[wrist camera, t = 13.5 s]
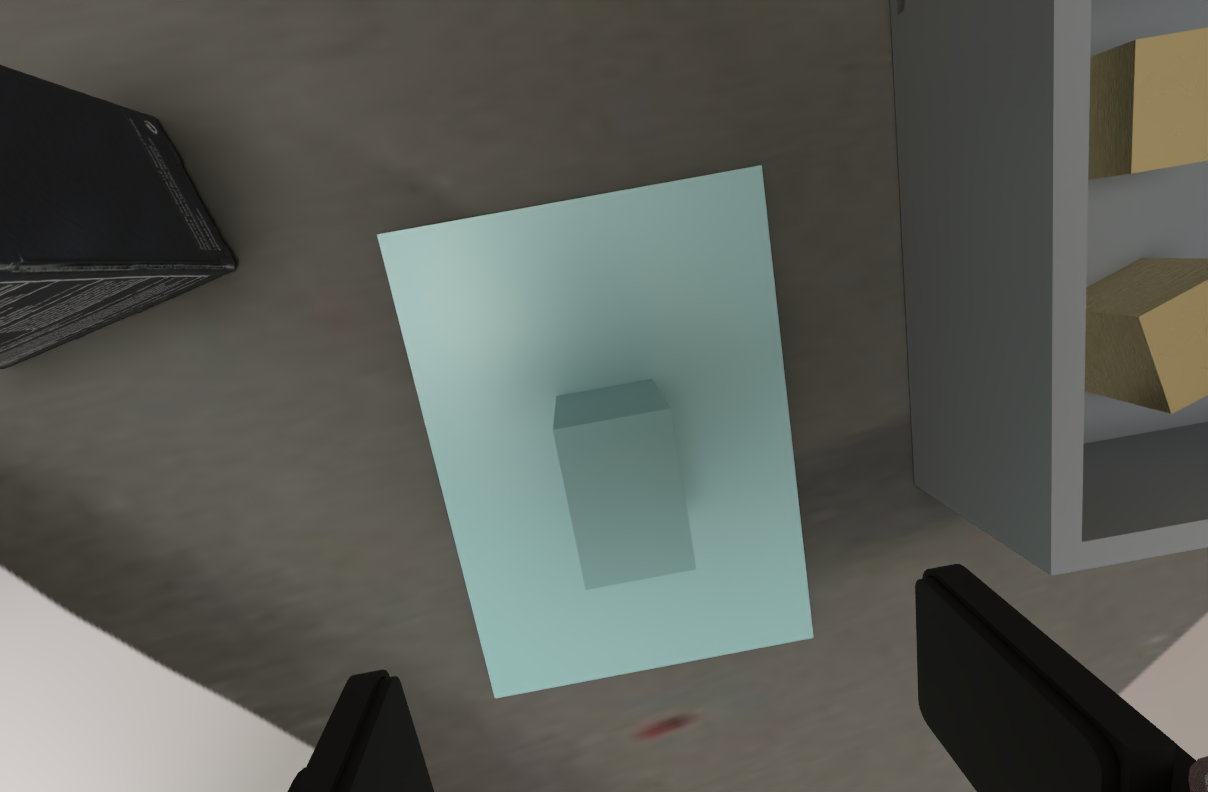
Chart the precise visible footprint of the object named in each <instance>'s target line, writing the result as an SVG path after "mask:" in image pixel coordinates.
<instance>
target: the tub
mask: <svg viewBox="0 0 1208 792" xmlns="http://www.w3.org/2000/svg"><path fill="white" fill-rule="evenodd" d="M890 13H891V33H892V53H893V72H894V92H895V112H896V132H897V151H898V171H899V191H900V210H901V230H902V250H903V270H904V289H905V309H906V329H907V349H908V368H909V388H910V408H911V428H912V447H913V467H914V485H915V486H917V487H918V488H920V489H921V490H923V491H924V492H926V493H927V494H929V495H930V496H932V497H933V498H935V499H936V500H938V501H939V502H941V503H942V504H944V505H945V506H947V507H948V508H950V509H951V510H953V511H954V512H956V513H957V514H959V515H961V516H962V517H964V518H965V519H967V520H968V521H970V522H971V523H973V524H974V525H976V526H977V527H979V528H980V529H982V530H983V531H985V532H986V533H988V534H989V535H991V536H992V537H994V538H995V539H997V540H998V541H1000V542H1001V543H1003V544H1004V545H1006V546H1007V547H1009V548H1010V549H1012V550H1013V551H1015V552H1016V553H1018V554H1019V555H1021V556H1022V557H1024V558H1025V559H1027V560H1028V561H1030V562H1031V563H1033V564H1034V565H1036V566H1037V567H1039V568H1040V569H1042V570H1043V571H1045V572H1046V573H1048V574H1049V575H1051V576H1052V575H1057V574H1063V573H1068V572H1074V571H1079V570H1085V569H1090V568H1096V567H1101V566H1107V565H1112V564H1118V563H1123V562H1129V561H1134V560H1140V559H1145V558H1151V557H1156V556H1162V555H1167V554H1173V553H1178V552H1184V551H1189V550H1195V549H1200V548H1206V547H1208V395H1207V396H1205V397H1203V398H1201V399H1199V400H1198V401H1196V402H1194V403H1192V404H1190V405H1188V406H1186V407H1184V408H1182V409H1180V410H1179V411H1177V412H1175V413H1173V414H1169V413H1166V412H1162V411H1158V410H1154V409H1150V408H1147V407H1143V406H1139V405H1135V404H1131V403H1128V402H1124V401H1120V400H1116V399H1112V398H1108V397H1105V396H1101V395H1097V394H1093V393H1089V392H1086V391H1084V389H1085V333H1086V287H1088V286H1090V285H1092V284H1094V283H1095V282H1097V281H1099V280H1101V279H1103V278H1105V277H1106V276H1108V275H1110V274H1112V273H1114V272H1116V271H1117V270H1119V269H1121V268H1123V267H1125V266H1127V265H1128V264H1130V263H1132V262H1134V261H1136V260H1138V259H1139V258H1208V161H1202V162H1196V163H1191V164H1185V165H1179V166H1173V167H1167V168H1161V169H1156V170H1150V171H1144V172H1138V173H1132V174H1125V175H1119V176H1112V177H1105V178H1098V179H1091V180H1088V165H1089V109H1090V57H1091V56H1094V55H1097V54H1099V53H1102V52H1104V51H1107V50H1110V49H1112V48H1115V47H1118V46H1120V45H1123V44H1125V43H1128V42H1131V41H1133V40H1136V39H1142V38H1148V37H1154V36H1160V35H1166V34H1172V33H1178V32H1184V31H1190V30H1196V29H1202V28H1208V0H890Z"/></svg>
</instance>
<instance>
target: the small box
mask: <svg viewBox="0 0 1208 792" xmlns="http://www.w3.org/2000/svg"><path fill="white" fill-rule="evenodd" d="M234 267H235V263H234V259H233V258H232V257H231V252H230V251H229V250H228V248H227V247H226V245H225V244H224V243H223V242H222V240H221V238H220V237H219V235H218V230H217V228H216V227H214V225H213V224H212V222H211V220H210V218H209V216H208V214H207V212H206V211H205V209H204V206H203V205H202V203H201V201H200V199H199V197H198V196H197V194H196V192H195V190H194V188H193V185H192V183H191V182H190V180H189V178H188V177H187V175H186V173H185V171H184V169H183V167H182V163H181V160H180V158H179V156H178V155H177V153H176V151H175V150H174V149H173V147H172V145H171V143H170V142H169V140H168V139H167V137H166V135H165V134H164V133H163V131H162V129H161V127H160V125H159V124H158V122H157V120H156V119H155V118H154V117H153V116H150V115H147V114H143V113H140V112H137V111H134V110H131V109H128V108H125V107H122V106H119V105H116V104H114V103H111V102H108V101H105V100H102V99H99V98H96V97H92V96H90V95H87V94H84V93H81V92H78V91H75V90H72V89H69V88H66V87H63V86H61V85H58V84H55V83H52V82H49V81H46V80H43V79H40V78H37V77H34V76H32V75H28V74H25V73H22V72H20V71H17V70H13V69H11V68H8V67H5V66H2V65H0V369H4V368H7V367H10V366H11V365H13V364H16V363H18V362H20V361H23V360H26V359H28V358H31V357H33V356H36V355H38V354H41V353H43V352H45V351H47V350H50V349H52V348H55V347H57V346H59V345H61V344H63V343H66V342H68V341H71V340H73V339H78V338H80V337H81V336H83V335H85V334H87V333H90V332H92V331H94V330H97V329H100V328H102V327H104V326H106V325H108V324H111V323H113V322H115V321H118V320H120V319H123V318H125V317H127V316H130V315H132V314H134V313H139V312H141V311H143V310H145V309H147V308H149V307H153V306H154V305H155V304H158V303H160V302H162V301H165V300H167V299H170V298H172V297H175V296H177V295H179V294H181V293H184V292H186V291H188V290H190V289H192V288H195V287H197V286H199V285H202V284H204V283H206V282H208V281H210V280H213V279H215V278H217V277H219V276H222V275H224V274H227V273H230V272H233V271H234Z"/></svg>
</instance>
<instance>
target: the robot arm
mask: <svg viewBox="0 0 1208 792" xmlns="http://www.w3.org/2000/svg"><path fill="white" fill-rule="evenodd" d="M915 595H916V631H917V667H918V700H919V706H920V710H921V713H922V715H923V718H924V720H925V721H926V723H927V725H928V726H929V727H930V729H931V730H932V732H933V733H934V734H935V736H936V737H937V738H938V740H939V741H940V742H941V744H942V745H943V746H944V748H945V749H946V750H947V752H948V753H949V754H950V756H951V757H952V759H953V760H954V761H955V763H956V764H957V765H958V767H959V768H960V769H961V771H962V772H963V773H964V775H965V776H966V777H967V779H968V780H969V782H970V783H971V784H972V786H973V787H974V788H975V790H976V791H977V792H1208V756H1207V757H1203V758H1200V759H1198V760H1197V761H1196V760H1195V759H1194V758H1192V757H1191V756H1190V755H1189V754H1188V753H1186V752H1185V751H1184V750H1183V749H1182V748H1180V747H1179V746H1178V745H1177V744H1176V743H1175V742H1174V741H1173V740H1171V739H1170V738H1169V737H1168V736H1166V735H1165V734H1164V733H1163V732H1162V731H1161V730H1159V729H1158V728H1157V727H1156V726H1155V725H1153V724H1152V723H1151V722H1150V721H1149V720H1147V719H1146V718H1145V717H1144V716H1142V715H1141V714H1140V713H1139V712H1138V711H1137V710H1135V709H1134V708H1133V707H1132V706H1131V705H1129V704H1128V703H1127V702H1126V701H1125V700H1123V699H1122V698H1121V697H1120V696H1119V695H1117V694H1116V693H1115V692H1114V691H1113V690H1111V689H1110V688H1109V687H1108V686H1107V685H1105V684H1104V683H1103V682H1102V681H1101V680H1099V679H1098V678H1097V677H1096V676H1095V675H1093V674H1092V673H1091V672H1090V671H1089V670H1087V669H1086V668H1085V667H1084V666H1083V665H1081V664H1080V663H1079V662H1078V661H1077V660H1075V659H1074V658H1073V657H1072V656H1071V655H1070V654H1068V653H1067V652H1066V651H1065V650H1064V649H1062V648H1061V647H1060V646H1059V645H1058V644H1056V643H1055V642H1054V641H1053V640H1052V639H1050V638H1049V637H1048V636H1047V635H1046V634H1044V633H1043V632H1042V631H1041V630H1040V629H1038V628H1037V627H1036V626H1035V625H1034V624H1032V623H1031V622H1030V621H1029V620H1028V619H1026V618H1025V617H1024V616H1023V615H1022V614H1020V613H1019V612H1018V611H1017V610H1016V609H1014V608H1013V607H1012V606H1011V605H1010V604H1008V603H1007V602H1006V601H1005V600H1004V599H1002V598H1001V597H1000V596H999V595H998V594H996V593H995V592H994V591H993V590H992V589H990V588H989V587H988V586H987V585H986V584H984V583H983V582H982V581H981V580H980V579H978V578H977V577H976V576H975V575H974V574H972V573H971V572H970V571H969V570H968V569H966V568H965V567H964V566H962V565H960V564H953V565H948V566H942V567H937V568H932V569H927V570H926V571H924V574H923V579H919V580H917V582H916V585H915ZM288 792H434V790H433V787H432V783H431V780H430V777H429V774H428V770H427V767H426V764H425V760H424V757H423V754H422V751H421V747H420V744H419V741H418V737H417V734H416V731H415V728H414V724H413V721H412V718H411V715H410V711H409V708H408V705H407V701H406V698H405V695H404V692H403V688H402V685H401V682H400V680H399V678H398V677H396V676H394V677H390V676H389V673H388V672H387V671H386V670H378V671H373V672H368V673H362V674H357V675H353V676H351V677H350V678H349V679H348V681H347V683H346V685H345V687H344V689H343V691H342V693H341V695H340V697H339V700H338V702H337V704H336V706H335V708H334V710H333V712H332V714H331V716H330V718H329V721H328V723H327V725H326V727H325V729H324V731H323V733H322V735H321V737H320V739H319V742H318V744H317V746H316V748H315V750H314V752H313V754H312V756H311V758H310V760H309V763H308V765H307V767H306V768H304V769H303V770H301V771H300V772H299V773H298V774H297V776H296V777H295V779H294V780H293V782H292V784H291V787H290V788H289V790H288Z"/></svg>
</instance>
